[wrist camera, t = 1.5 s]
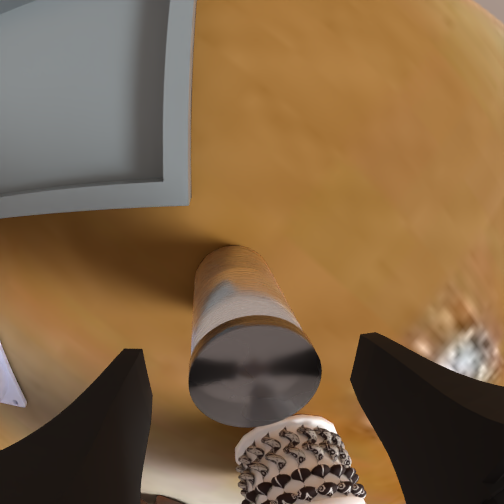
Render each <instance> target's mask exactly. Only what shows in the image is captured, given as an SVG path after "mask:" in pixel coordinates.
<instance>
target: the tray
mask: <svg viewBox="0 0 504 504" xmlns="http://www.w3.org/2000/svg"><path fill="white" fill-rule="evenodd" d="M196 2H197V0H0V218H9V217H19V216H29V215H39V214H50V213H62V212H75V211H89V210H104V209H120V208H139V207H161V206H188V205H189V203H190V200H191V101H192V70H193V48H194V30H195V15H196Z"/></svg>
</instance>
